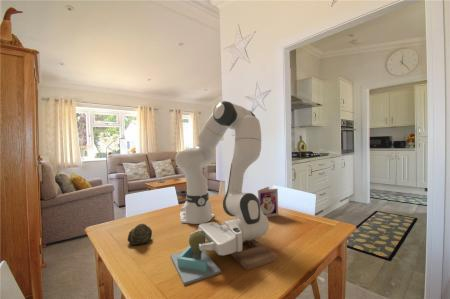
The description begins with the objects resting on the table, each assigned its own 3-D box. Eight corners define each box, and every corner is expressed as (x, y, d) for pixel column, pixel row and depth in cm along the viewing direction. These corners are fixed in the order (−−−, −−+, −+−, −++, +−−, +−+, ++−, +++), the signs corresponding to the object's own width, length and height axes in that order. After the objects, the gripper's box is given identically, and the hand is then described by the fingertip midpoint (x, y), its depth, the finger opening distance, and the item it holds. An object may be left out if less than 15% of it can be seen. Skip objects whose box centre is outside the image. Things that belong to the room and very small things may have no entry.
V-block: (170, 256, 80) (170, 246, 80) (201, 248, 85) (200, 239, 85) (184, 285, 64) (183, 272, 63) (220, 272, 69) (220, 261, 69)
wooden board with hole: (216, 240, 91) (216, 236, 91) (240, 234, 97) (240, 229, 97) (247, 270, 70) (246, 264, 70) (276, 259, 75) (276, 254, 75)
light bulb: (190, 256, 78) (189, 229, 77) (205, 255, 78) (205, 228, 78) (189, 265, 72) (188, 236, 72) (205, 264, 73) (204, 235, 72)
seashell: (119, 236, 85) (144, 234, 85) (128, 211, 95) (151, 210, 95) (127, 251, 92) (151, 250, 92) (135, 227, 101) (157, 226, 102)
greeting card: (259, 218, 115) (258, 190, 115) (254, 214, 123) (253, 187, 122) (278, 216, 118) (278, 188, 118) (272, 211, 125) (272, 186, 125)
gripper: (218, 216, 90) (185, 222, 83) (244, 234, 71) (205, 245, 65) (218, 231, 90) (186, 238, 84) (244, 253, 72) (205, 265, 65)
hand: (194, 241), depth 74 cm, fingers open, 8 cm apart
